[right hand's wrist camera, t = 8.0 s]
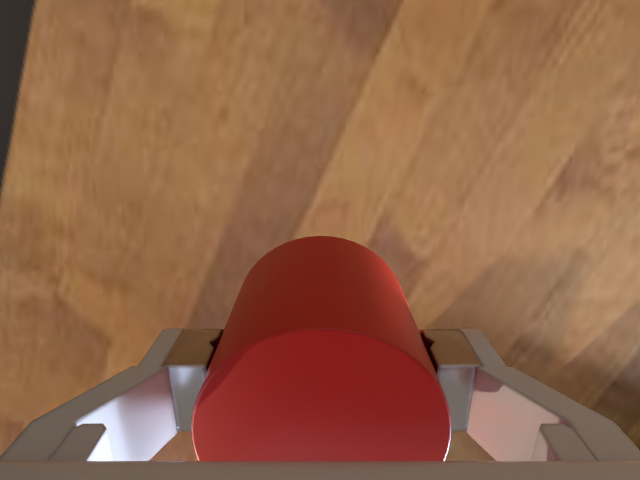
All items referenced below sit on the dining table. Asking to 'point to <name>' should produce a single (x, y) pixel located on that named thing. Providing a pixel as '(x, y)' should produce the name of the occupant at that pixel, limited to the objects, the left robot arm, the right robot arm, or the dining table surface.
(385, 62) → the dining table surface
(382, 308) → the can
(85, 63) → the dining table surface
